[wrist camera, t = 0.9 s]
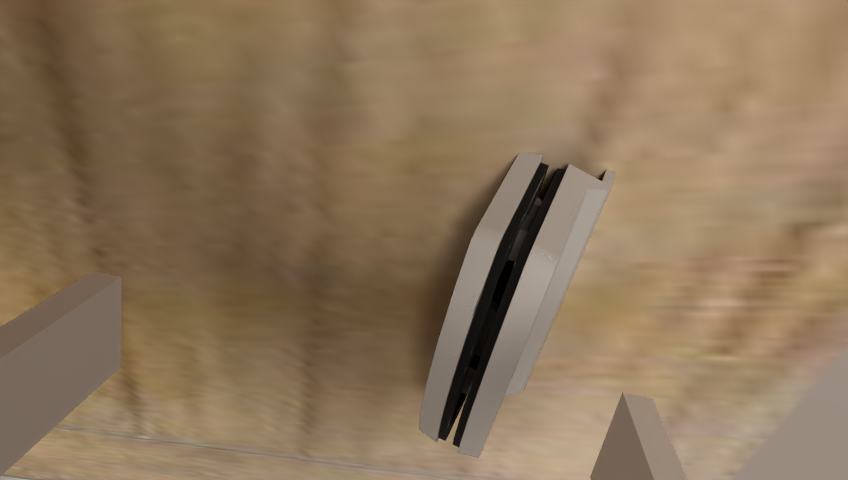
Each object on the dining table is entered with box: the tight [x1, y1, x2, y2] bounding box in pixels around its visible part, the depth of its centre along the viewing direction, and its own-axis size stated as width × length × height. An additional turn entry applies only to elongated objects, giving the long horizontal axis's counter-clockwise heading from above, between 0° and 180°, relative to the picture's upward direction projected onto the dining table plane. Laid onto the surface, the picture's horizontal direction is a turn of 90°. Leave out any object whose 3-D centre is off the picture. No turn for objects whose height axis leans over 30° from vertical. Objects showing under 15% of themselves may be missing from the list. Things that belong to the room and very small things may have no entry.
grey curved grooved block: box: [419, 153, 616, 458], centre depth 31 cm, size 17×5×10 cm, turn 171°
